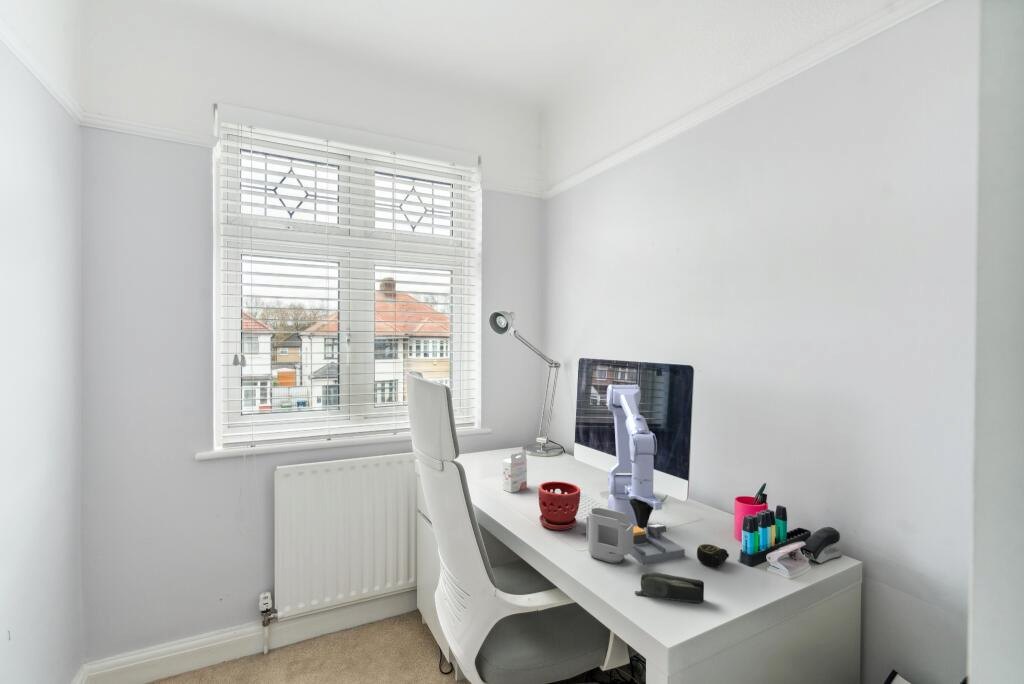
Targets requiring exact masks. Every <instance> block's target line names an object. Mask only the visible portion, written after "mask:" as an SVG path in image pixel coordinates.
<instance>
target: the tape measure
mask: <svg viewBox="0 0 1024 684" xmlns="http://www.w3.org/2000/svg"><path fill="white" fill-rule="evenodd" d="M696 556H697V560H698V561H699V562H700V563H701V564H703V565H706V566H710V567H714V568H719V567H721V566H722V564H723V563H725V562H726V560H728V559H729V558H730V554H729V553H728V550H727V549H725V548H720V547H719V546H716V545H714V544H708V543H704V544H700V545H698V547H697V549H696Z"/></svg>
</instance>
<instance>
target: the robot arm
mask: <svg viewBox="0 0 1024 684" xmlns="http://www.w3.org/2000/svg"><path fill="white" fill-rule="evenodd" d="M641 395H642V393H641V387H640V386H639V385H638V384H609V385H608V386H607V389H606V400H607V401H606V405H607V410H608V411H609V412H612V415H613V421H614V435H615V455H616V456H615V457H616V464H614V465H613V466H612V467H611V468H610V469H609V470H608V477H607V487H608V493H609V496H608V497H607V509H609V510H613V511H618V512H622V513H626V515H627V517H628V518H629V520H630V522H631V523H632V524H633V527H635V526H638V527H639V528H646V527H647V524H648V523H649V520H650V517H651V514H652V512H653V511H659V510H662V509H663V502H662V501H661V500H659V498H658V497H657V496H656V495H655V493H654V468H655V467H654V462H655V461H654V456H655V455H657V452H658V444H657V443H658V441H657V438H656V434H655V433H653V432H652V431H651V430H650V429H649V426H648V424H647V421H646V418H645V417H644V416H643V415H641V414H640V410H639V407H638V406H639V403H640V402H641ZM621 524H623V523H621ZM625 525H628V524H625Z"/></svg>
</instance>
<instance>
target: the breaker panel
mask: <svg viewBox="0 0 1024 684" xmlns="http://www.w3.org/2000/svg"><path fill="white" fill-rule="evenodd" d="M656 524H659V525H663V524H662V522H660V521H657V523H656ZM644 531H645V534H646V543H642V544H634V543H633V550H632V551H631V552H630V553H629V554H628V555H630V556H632V557H633V558H634V559H636V561H638V562H639V563H640V564H641V565H645V564H651V563H657V562H663V561H667V560H673V559H680V558H685V556H686V555H685V552H686V551H685V549H684V548H683V547H682V546H680V545H679V544H677V543H676V542H674V541H672V540H671V539H669V538H667V537H666V536H665V535H663V534H662V533H663V532H662V533H652V532H648V525H647V527H646V528H644Z"/></svg>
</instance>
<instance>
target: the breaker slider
mask: <svg viewBox="0 0 1024 684" xmlns="http://www.w3.org/2000/svg"><path fill="white" fill-rule="evenodd" d="M633 543H634V544H642V543H646V534H645V531H644V530H643V529H641V528H639V527H638V526H635V527H633Z"/></svg>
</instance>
